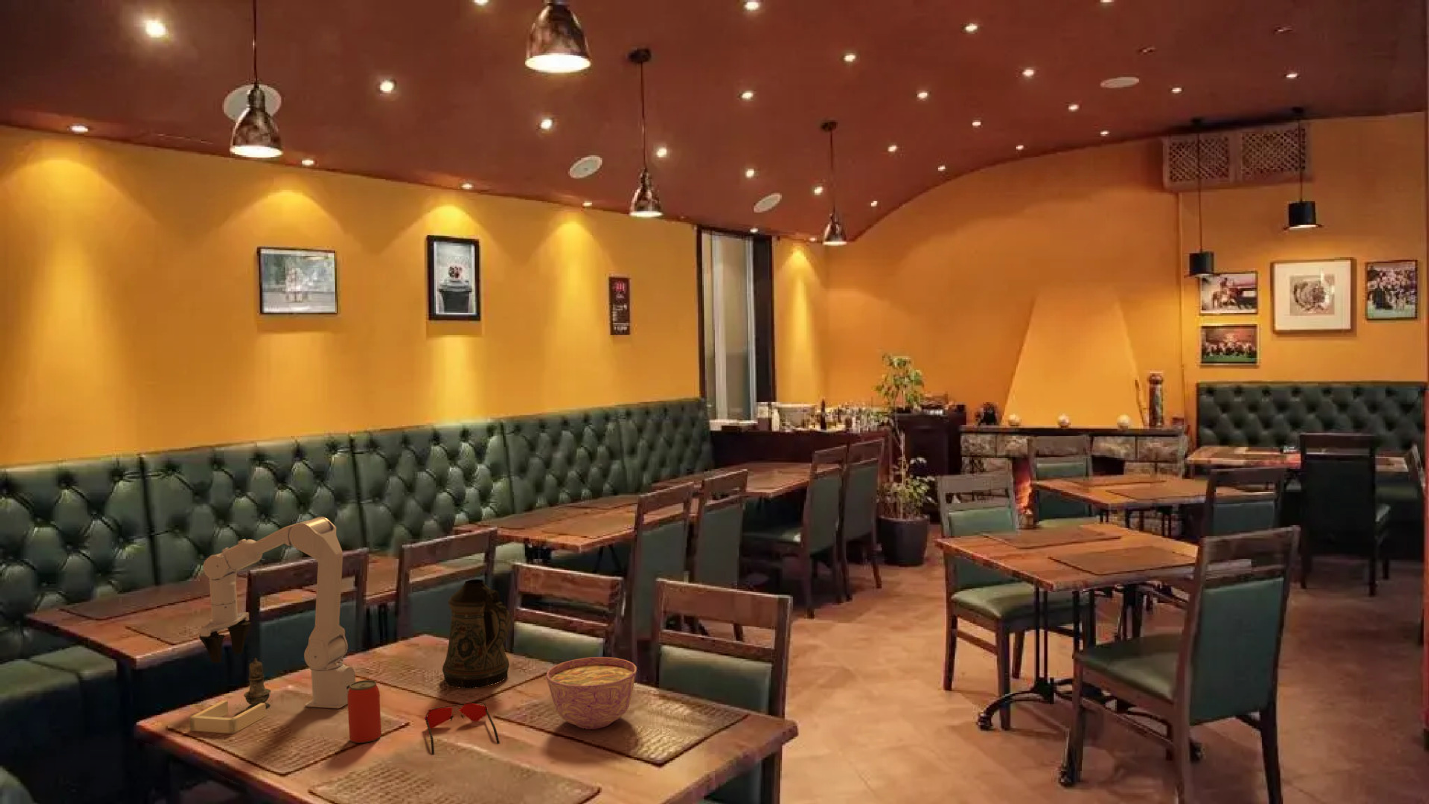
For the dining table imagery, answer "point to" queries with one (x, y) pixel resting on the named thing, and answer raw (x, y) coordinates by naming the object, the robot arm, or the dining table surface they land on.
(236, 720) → the holder
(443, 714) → the glasses
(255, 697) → the dark bronze turned piece
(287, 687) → the dining table surface
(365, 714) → the beer can
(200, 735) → the dining table surface
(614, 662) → the bowl of food
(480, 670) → the beer stein
